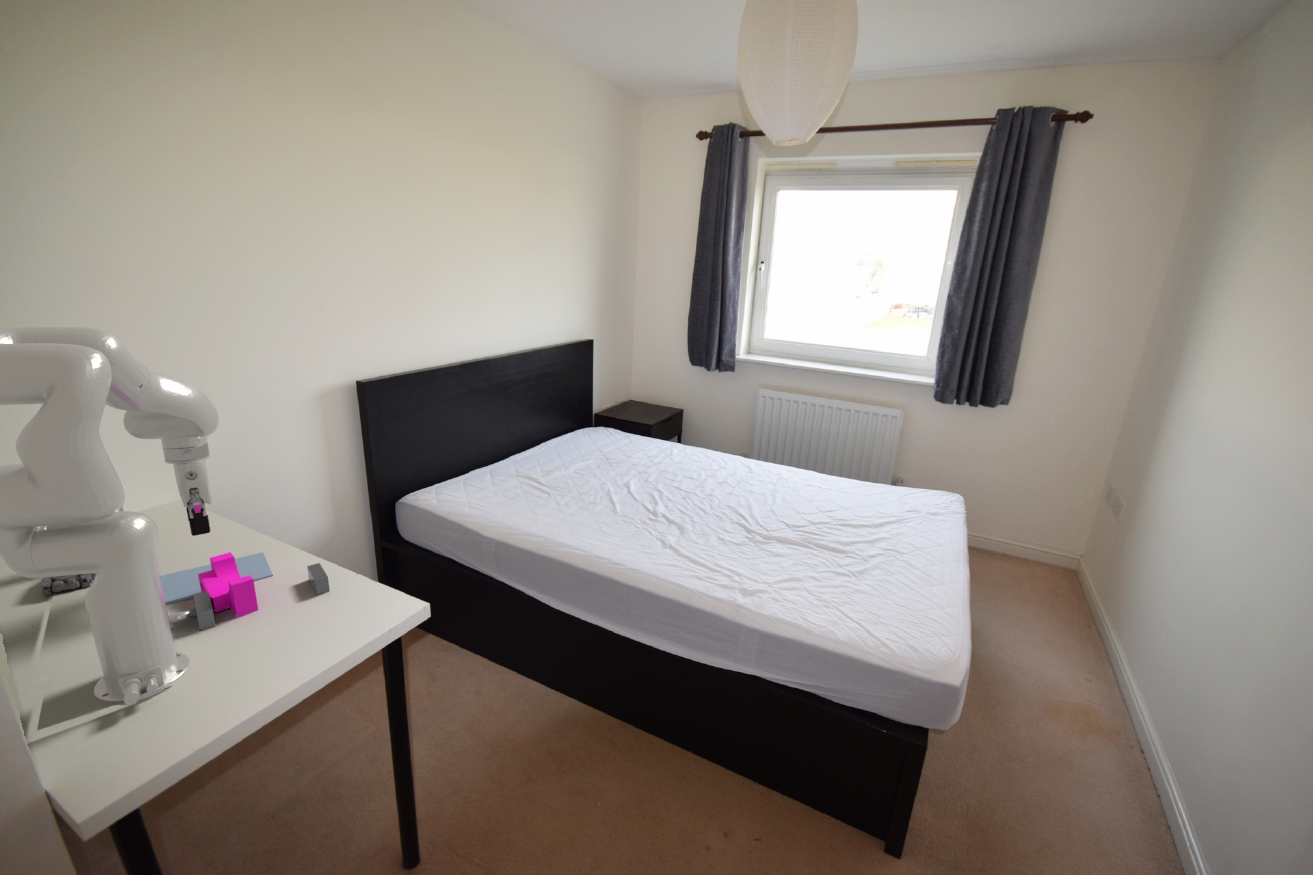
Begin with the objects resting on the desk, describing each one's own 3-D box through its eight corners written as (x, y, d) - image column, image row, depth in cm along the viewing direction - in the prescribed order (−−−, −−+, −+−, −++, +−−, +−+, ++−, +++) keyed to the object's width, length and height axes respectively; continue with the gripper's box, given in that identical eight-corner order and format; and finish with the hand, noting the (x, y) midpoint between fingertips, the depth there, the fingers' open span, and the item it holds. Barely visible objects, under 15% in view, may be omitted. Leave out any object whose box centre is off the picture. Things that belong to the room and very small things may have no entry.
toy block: (201, 592, 124) (195, 561, 122) (235, 581, 129) (230, 551, 126) (222, 622, 115) (216, 590, 113) (258, 609, 120) (253, 578, 118)
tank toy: (50, 575, 129) (44, 555, 128) (106, 565, 135) (102, 545, 133) (35, 601, 120) (29, 579, 118) (96, 589, 125) (91, 568, 124)
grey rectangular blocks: (330, 592, 127) (328, 577, 126) (163, 641, 109) (159, 622, 108) (321, 578, 133) (319, 562, 132) (162, 621, 114) (158, 604, 113)
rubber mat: (273, 577, 132) (272, 574, 132) (148, 609, 118) (147, 606, 118) (263, 554, 142) (262, 552, 142) (146, 581, 128) (146, 579, 128)
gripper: (212, 458, 118) (224, 535, 122) (205, 442, 130) (216, 511, 134) (165, 464, 113) (179, 544, 117) (162, 446, 126) (175, 519, 130)
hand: (199, 526), depth 126 cm, fingers open, 9 cm apart
